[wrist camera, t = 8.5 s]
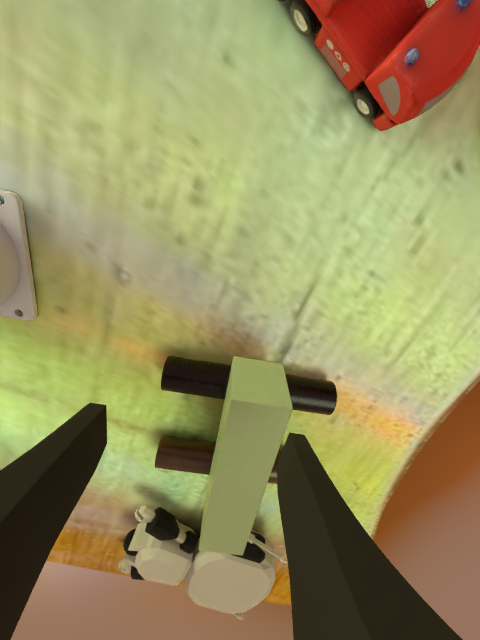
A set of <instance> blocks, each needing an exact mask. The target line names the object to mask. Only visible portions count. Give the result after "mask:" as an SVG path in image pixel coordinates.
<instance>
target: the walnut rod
mask: <svg viewBox="0 0 480 640" xmlns="http://www.w3.org/2000/svg"><path fill="white" fill-rule="evenodd" d="M215 445H216V443H211V442H204V441H197V440H190V439H183V438H176V437H168V436H162V437H161V439H160V442H159V446H158V450H157V454H156V459H155V468H162V469H169V470H177V471H185V472H192V473H200V474H207V475H210V470H211V465H212V460H213V455H214V450H215ZM281 454H282V452H278V453H277V456H276V459H275V462H274V465H273V468H272V471H271V474H270V477H269V480H268V483H275V484H277V465H278V462H279V460H280V457H281Z"/></svg>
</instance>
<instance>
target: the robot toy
mask: <svg viewBox="0 0 480 640" xmlns="http://www.w3.org/2000/svg"><path fill="white" fill-rule="evenodd" d="M135 518H136V519H137V520H138V521H139V522H140V523H139V524H138V525H137V528H136V529H133V530H131V531H130V532H129V533H128V534H127V536H126V538H125V540H124V550H125V552H126V553H127V555H126V557H125V558H122V559H121V560H120V562H119V565H118V566H119V567H120V570H121V571H122V573H126V574H130V573H131V577H132V579H138V580H149V581H153V582H158V583H163V584H168V585H174V586H176V585H177V584H179V583H180V582H181V581H182V580H184V578H185V588H186V590H187V592H188V594H189V596H190V598H191V599H192V600H193V601H194V602H195V603H196V604H197V605H200V606H203V607H207V608H210V609H214V610H217V611H221V612H225V613H228V614H234V615H235V616H236V617H237V618H238V619H244V618H243V616H242V614H241V613H242V612H245V611H247V610H249V609H251V608H253V607H254V606H256V605H257V604H258V603H259V602H261V601H262V600H263V599H265V597H266V596H267V595H268V594H269V593H270V591H271V588H272V586H273V584H274V581H275V556H276V557H277V558H279V559H280V561H282V562H283V563H285V564H286V563H288V560H287V557H286V556H284V555H283V554H282V555H281V554H279V553H278V552H276V551H275V550H274V547H273V545H272V543H271V542H270V541H269V540H268V539H267V538H266V536H265V535H264V534H262V533H259V532H255V531H253V530H252V529H251V532H250V535H249V538H248V541H247V544H246V547H245V550H244V553H243V555H234V554H225V553H216V552H207V551H199V543H200V538H199V539H198V535H196V534H195V533H194V531H193V529H192V528H190V527H187V526H185V525H183V524H181V523H178V520H177V519H176V518H175V516H173V515H172V514H170V513H169V512H167V511H166V510H164V509H163V508H161V507H159V508H157V509H155V510H154V509H153V507H151V506H148V505H143V506H141V507H140V508H138V509H137V510H136V512H135ZM185 576H186V577H185Z"/></svg>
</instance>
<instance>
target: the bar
mask: <svg viewBox="0 0 480 640" xmlns="http://www.w3.org/2000/svg"><path fill="white" fill-rule="evenodd" d="M292 410H293V407H292V402H291V398H290V393H289V389H288V385H287V380H286V376H285V371H284V367H283V364H280V363H274V362H268V361H261V360H255V359H249V358H243V357H236V356H234V357H233V361H232V366H231V371H230V376H229V381H228V386H227V391H226V396H225V401H224V406H223V411H222V416H221V420H220V425H219V430H218V435H217V440H216V445H215V450H214V455H213V460H212V465H211V470H210V475H209V480H208V485H207V490H206V495H205V502H204V510H203V518H202V527H201V535H200V543H199V551H207V552H216V553H225V554H234V555H243V553H244V550H245V547H246V544H247V541H248V538H249V535H250V532H251V529H252V527H253V524H254V521H255V518H256V515H257V512H258V509H259V506H260V503H261V500H262V497H263V494H264V491H265V489H266V486H267V483H268V480H269V477H270V474H271V471H272V468H273V465H274V462H275V459H276V456H277V453H278V451H279V448H280V445H281V442H282V439H283V436H284V433H285V430H286V427H287V424H288V421H289V418H290V415H291V412H292Z"/></svg>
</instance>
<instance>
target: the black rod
mask: <svg viewBox="0 0 480 640" xmlns="http://www.w3.org/2000/svg"><path fill="white" fill-rule="evenodd" d="M230 371H231V365H225V364H219V363H212V362H206V361H200V360H193V359H187V358H181V357H175V356H168V357H167V359H166V362H165V365H164V369H163V373H162V379H161V389H162V390H165V391H172V392H179V393H185V394H192V395H199V396H205V397H212V398H219V399H225V396H226V391H227V386H228V381H229V376H230ZM285 376H286V380H287V385H288V389H289V393H290V398H291V402H292V407H293V410H299V411H305V412H312V413H319V414H325V415H330V414H332V413H333V411H334V409H335V406H336V401H337V392H336V387H335V384H334V383H333V382H331V381H326V380H320V379H313V378H307V377H301V376H294V375H288V374H285Z"/></svg>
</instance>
